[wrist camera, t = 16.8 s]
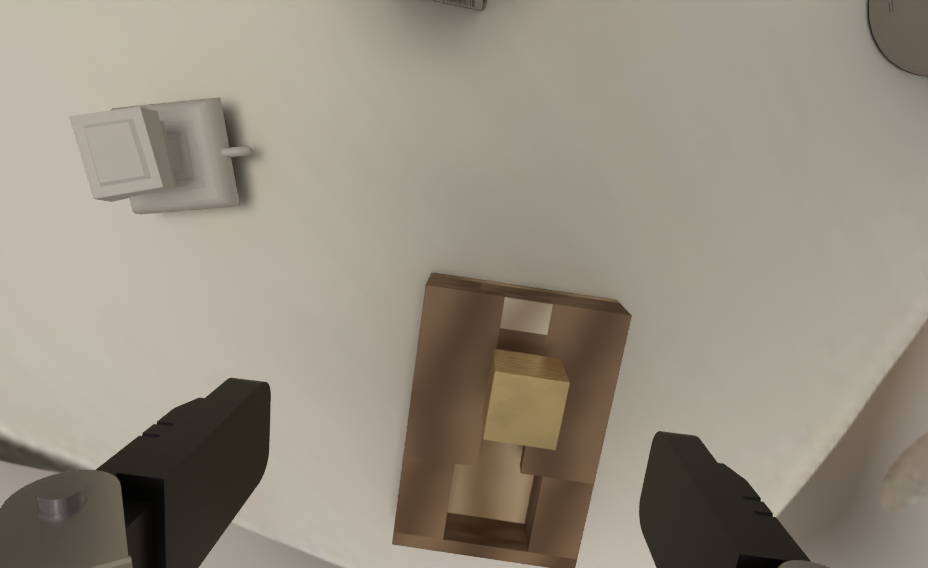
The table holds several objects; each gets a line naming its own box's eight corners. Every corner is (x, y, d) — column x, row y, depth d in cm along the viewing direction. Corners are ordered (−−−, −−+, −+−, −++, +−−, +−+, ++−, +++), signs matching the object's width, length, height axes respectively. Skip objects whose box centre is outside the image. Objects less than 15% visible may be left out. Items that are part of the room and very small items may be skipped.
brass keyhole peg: (552, 327, 37) (574, 379, 28) (540, 386, 38) (558, 454, 29) (488, 317, 37) (491, 367, 28) (479, 376, 38) (478, 441, 29)
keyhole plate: (616, 300, 37) (632, 316, 33) (566, 534, 42) (574, 573, 38) (431, 272, 37) (425, 285, 33) (400, 510, 42) (391, 546, 38)
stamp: (146, 213, 37) (51, 228, 29) (123, 113, 36) (16, 99, 27) (273, 200, 37) (212, 212, 28) (255, 98, 35) (186, 80, 27)
